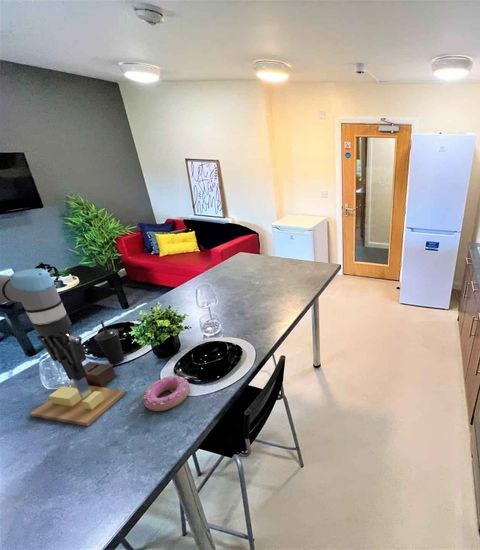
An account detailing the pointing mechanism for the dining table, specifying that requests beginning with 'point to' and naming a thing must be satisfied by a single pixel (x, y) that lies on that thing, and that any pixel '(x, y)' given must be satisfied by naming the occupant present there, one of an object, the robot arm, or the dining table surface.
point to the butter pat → (93, 400)
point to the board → (78, 408)
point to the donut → (168, 401)
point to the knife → (81, 384)
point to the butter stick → (65, 396)
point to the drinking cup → (110, 344)
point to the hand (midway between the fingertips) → (78, 377)
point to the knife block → (98, 374)
